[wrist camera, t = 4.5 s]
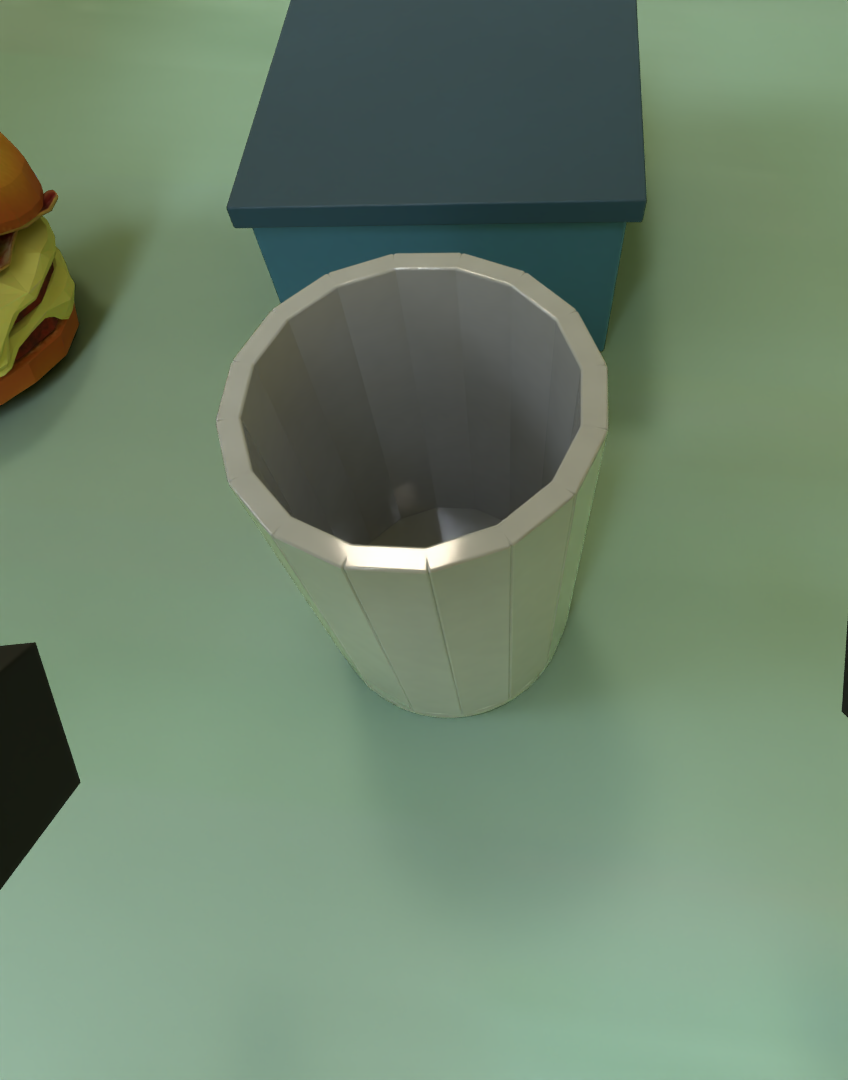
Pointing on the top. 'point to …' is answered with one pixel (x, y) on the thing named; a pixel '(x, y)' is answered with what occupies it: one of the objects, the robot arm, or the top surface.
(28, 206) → the cheeseburger
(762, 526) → the top surface
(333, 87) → the container
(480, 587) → the cup
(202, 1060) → the top surface
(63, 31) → the top surface
